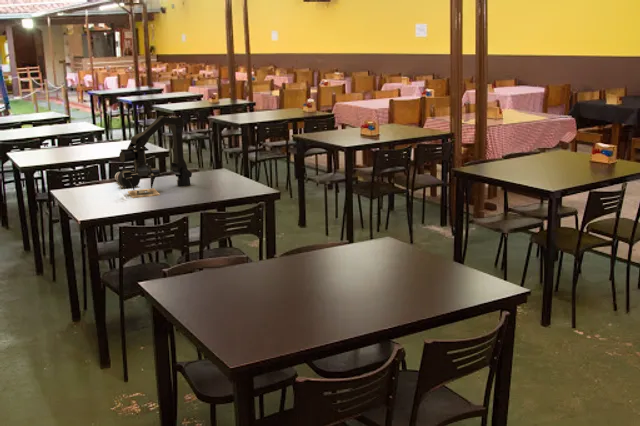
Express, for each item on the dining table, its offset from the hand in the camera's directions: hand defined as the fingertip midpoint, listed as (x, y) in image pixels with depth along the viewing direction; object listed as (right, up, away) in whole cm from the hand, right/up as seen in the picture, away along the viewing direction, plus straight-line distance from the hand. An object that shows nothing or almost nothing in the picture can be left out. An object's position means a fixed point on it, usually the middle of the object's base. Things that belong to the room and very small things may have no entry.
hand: (142, 189), depth 368 cm
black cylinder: (-19, +3, +33) cm, 38 cm away
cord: (-1, -2, 0) cm, 2 cm away
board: (+1, -4, 0) cm, 4 cm away
